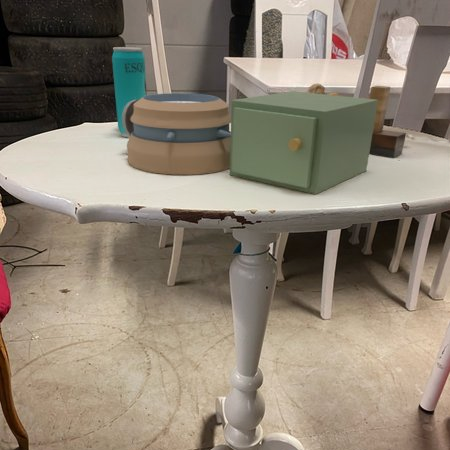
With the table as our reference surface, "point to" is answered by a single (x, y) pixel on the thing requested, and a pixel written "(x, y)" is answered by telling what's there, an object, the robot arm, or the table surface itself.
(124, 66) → the beverage can
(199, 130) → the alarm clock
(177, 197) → the table surface
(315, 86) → the lion figurine
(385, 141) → the brush
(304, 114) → the cabinet
